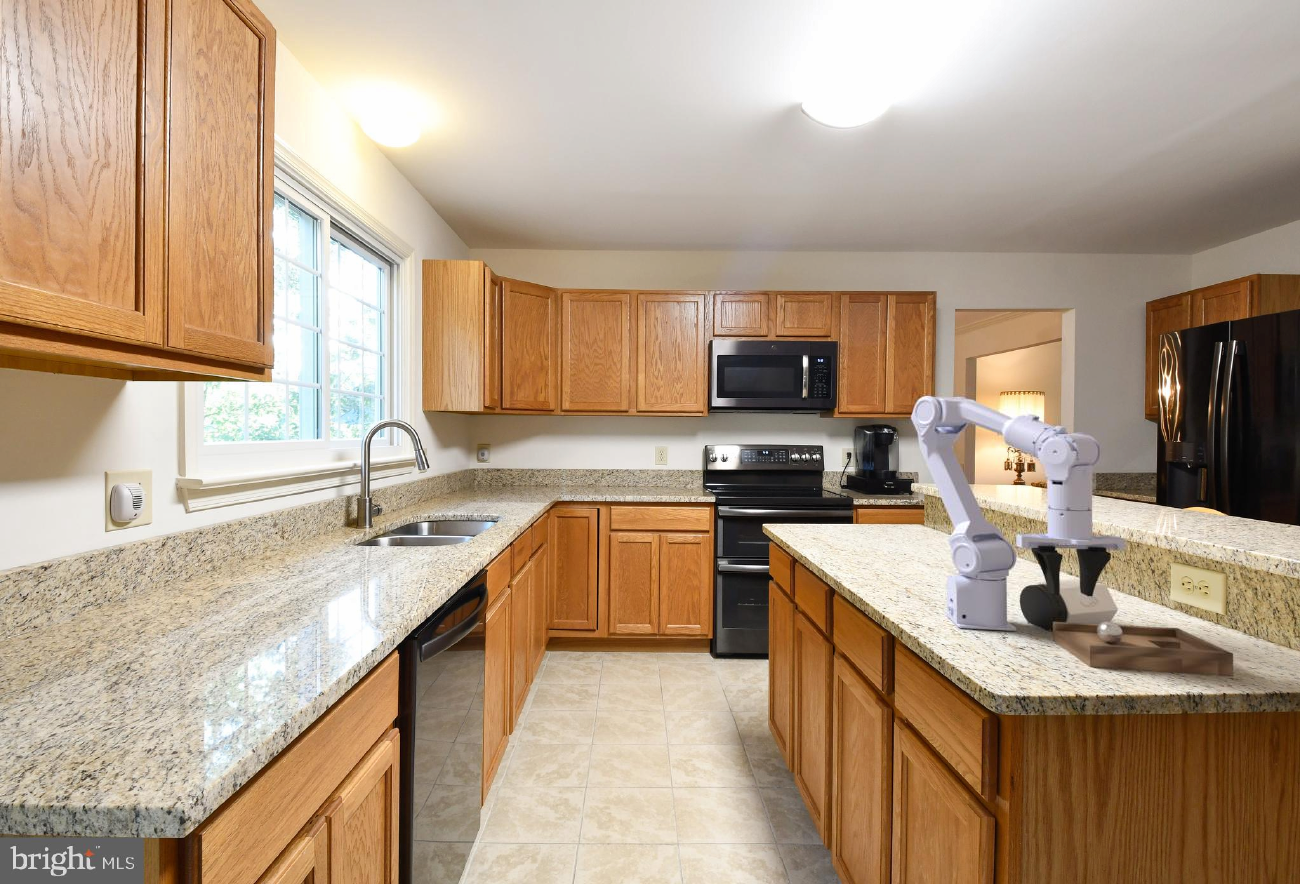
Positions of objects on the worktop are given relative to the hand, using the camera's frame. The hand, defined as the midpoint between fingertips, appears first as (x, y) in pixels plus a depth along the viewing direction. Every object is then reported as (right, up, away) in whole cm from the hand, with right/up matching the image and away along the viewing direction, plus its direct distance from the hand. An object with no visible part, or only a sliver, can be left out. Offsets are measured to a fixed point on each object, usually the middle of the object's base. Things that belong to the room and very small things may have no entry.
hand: (1069, 594), depth 89 cm
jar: (+15, -5, +14) cm, 21 cm away
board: (+9, -9, -2) cm, 13 cm away
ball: (+5, -6, -1) cm, 8 cm away
